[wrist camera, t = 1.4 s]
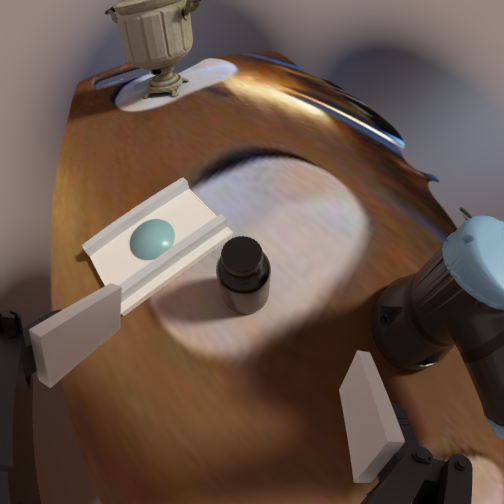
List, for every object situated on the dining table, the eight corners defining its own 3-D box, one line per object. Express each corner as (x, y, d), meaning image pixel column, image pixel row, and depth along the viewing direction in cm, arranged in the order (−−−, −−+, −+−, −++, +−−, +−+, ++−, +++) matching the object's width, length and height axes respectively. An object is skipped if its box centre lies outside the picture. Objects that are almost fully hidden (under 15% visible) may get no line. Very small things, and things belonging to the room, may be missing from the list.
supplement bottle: (255, 266, 46) (255, 220, 35) (276, 302, 43) (284, 264, 32) (214, 284, 44) (203, 242, 34) (234, 323, 41) (228, 291, 31)
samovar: (236, 76, 79) (232, -40, 44) (180, 114, 68) (158, -30, 33) (168, 65, 87) (154, -30, 52) (113, 99, 75) (84, -9, 41)
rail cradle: (182, 184, 54) (178, 173, 52) (233, 236, 48) (232, 225, 46) (87, 248, 47) (79, 239, 44) (123, 316, 41) (115, 309, 38)
